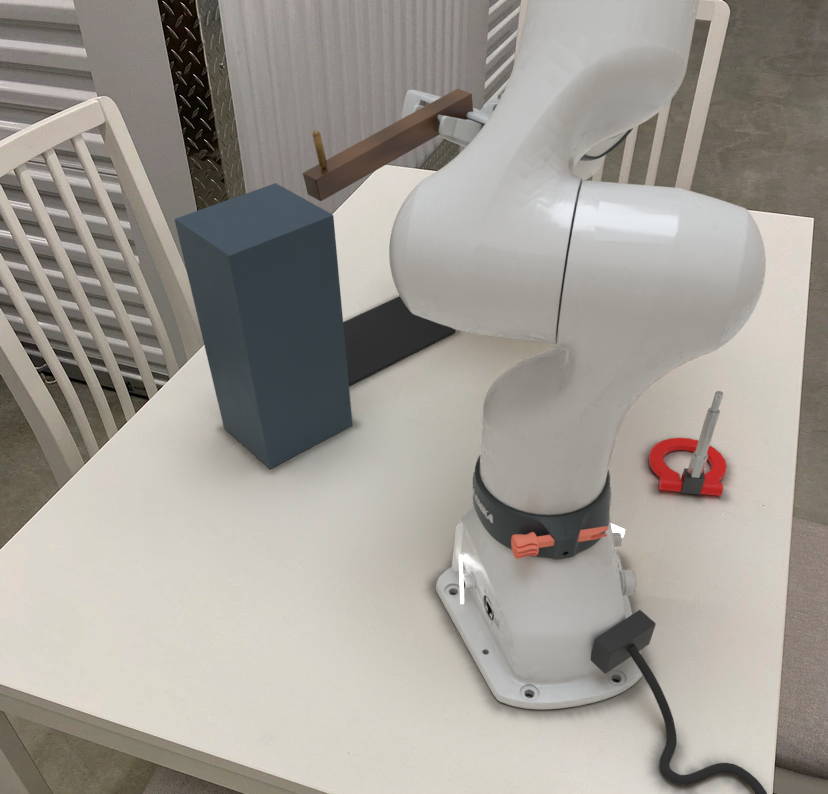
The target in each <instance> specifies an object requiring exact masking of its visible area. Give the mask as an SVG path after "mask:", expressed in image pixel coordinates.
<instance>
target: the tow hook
mask: <svg viewBox="0 0 828 794" xmlns="http://www.w3.org/2000/svg"><path fill="white" fill-rule="evenodd" d="M723 396H724V392H723V391H721V390H717V391H715V392H714V396H713V398H712V402H711V405H710V407H708V409H707V411H706V414H705V418H704V420H703V425H702V428H701V431H700V434H699V438H698V440H697V439H693V438H690V437H689V438H688V437H674V438H667V439H663V440H661V441H659V442H658V443H656V444H655V445H654V446H653V447H652V448H651V449H650V453H649V455H648V464H649V468H651V471H652V472H653V473H654V474H655V475H656V476H657V477H658V478H659V481H658V490H659V491H665V492H676V493H677V492H678V493H680V494H686V495H687V494H689V495H698V496H699V495H705V496H707V495H708V496H718V497H722V494H723V490H724V484H723V483H722V482H721V481H722V480H723V478H724V477H725V474H726V472H727V467H728V466H727V465H728V464H727V461H726V459H725V457H724V456H723V455H722V453H721V452H720V451H719V450H717V449H716V448H715V447H713V446H712V445H711V441H712V439H713V435H714V432H715V429H716V426H717V423H718V419H719V416H720V413H721V410H720V406H721V403H722V400H723ZM674 451H688V452H693V453H692V454H691V457H690V460H689V463H688V468H687V467H685V468H683V471H682V475H681V474H680V473H679V472H677V471H675V470H674V469H672V468H670V466H668V465H667V464H666V462H665V460H664V459H665V458H664V457H665V456H666V455H667V454H668V453H671V452H674ZM707 461H708V463H709V464H710V468H711V469H710V470H709V471H707V472H705V467H706V464H707ZM680 475H681V476H680Z"/></svg>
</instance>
